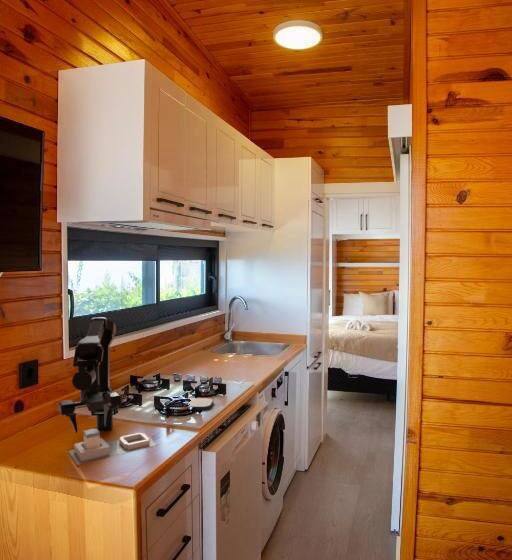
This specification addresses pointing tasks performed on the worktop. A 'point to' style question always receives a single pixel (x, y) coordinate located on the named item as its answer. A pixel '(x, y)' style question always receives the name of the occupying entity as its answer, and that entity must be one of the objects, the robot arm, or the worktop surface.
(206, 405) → the external hard drive
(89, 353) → the robot arm
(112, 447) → the panel
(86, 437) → the plug
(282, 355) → the worktop surface
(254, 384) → the worktop surface
